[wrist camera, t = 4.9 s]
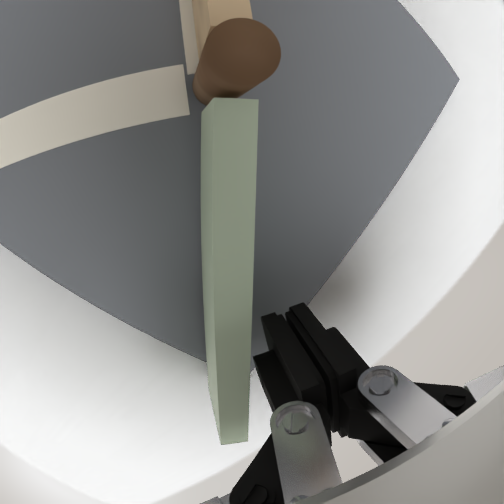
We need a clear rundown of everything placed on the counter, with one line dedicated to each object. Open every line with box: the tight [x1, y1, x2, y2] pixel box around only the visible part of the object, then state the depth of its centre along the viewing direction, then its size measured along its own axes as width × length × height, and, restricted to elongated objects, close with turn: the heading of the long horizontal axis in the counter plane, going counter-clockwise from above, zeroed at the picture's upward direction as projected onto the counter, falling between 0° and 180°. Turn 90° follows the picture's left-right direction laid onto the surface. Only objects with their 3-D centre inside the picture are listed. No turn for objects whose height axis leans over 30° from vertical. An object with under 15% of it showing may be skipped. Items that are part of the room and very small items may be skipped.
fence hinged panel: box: [201, 98, 259, 445], centre depth 10 cm, size 11×1×3 cm, turn 179°
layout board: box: [0, 0, 459, 372], centre depth 9 cm, size 20×18×1 cm
